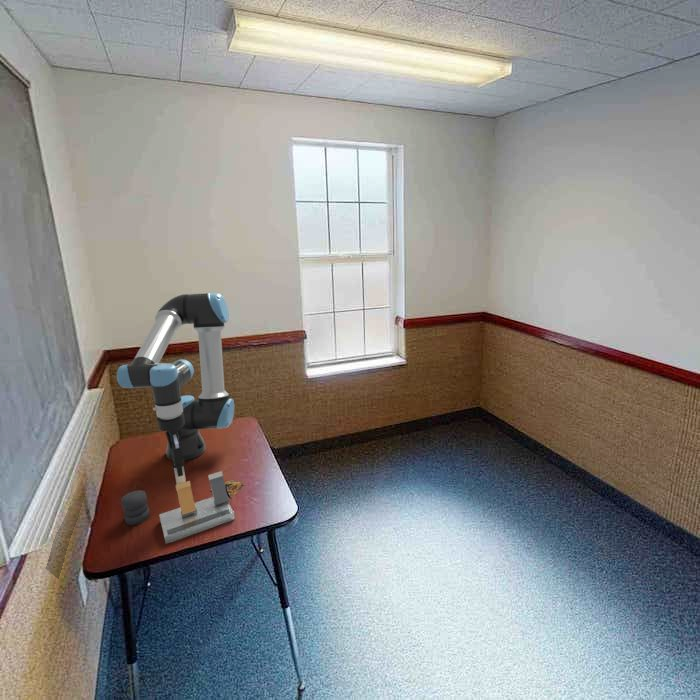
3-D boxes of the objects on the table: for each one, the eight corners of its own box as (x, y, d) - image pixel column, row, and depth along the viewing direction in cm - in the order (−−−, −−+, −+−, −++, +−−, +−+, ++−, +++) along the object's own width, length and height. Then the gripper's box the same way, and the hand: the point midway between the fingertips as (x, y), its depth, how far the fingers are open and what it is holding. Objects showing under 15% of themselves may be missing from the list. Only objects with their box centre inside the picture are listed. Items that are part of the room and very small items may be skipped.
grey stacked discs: (124, 515, 134) (120, 495, 132) (148, 508, 137) (144, 487, 135) (126, 528, 128) (121, 506, 126) (150, 519, 132) (146, 499, 130)
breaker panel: (160, 521, 131) (159, 513, 130) (224, 499, 140) (223, 492, 140) (165, 544, 121) (164, 536, 120) (234, 519, 130) (233, 511, 130)
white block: (214, 505, 134) (207, 475, 136) (228, 501, 136) (221, 471, 138) (215, 505, 132) (208, 475, 134) (229, 500, 134) (222, 470, 136)
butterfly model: (234, 500, 141) (233, 492, 140) (207, 491, 146) (205, 484, 145) (251, 486, 148) (250, 479, 147) (224, 479, 154) (223, 471, 153)
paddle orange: (181, 517, 129) (175, 485, 131) (196, 512, 131) (189, 481, 133) (182, 516, 127) (175, 485, 130) (197, 511, 129) (190, 480, 132)
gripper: (154, 410, 131) (166, 477, 137) (159, 425, 120) (171, 497, 126) (179, 405, 135) (189, 470, 141) (186, 419, 124) (197, 489, 130)
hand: (181, 482), depth 134 cm, fingers closed
